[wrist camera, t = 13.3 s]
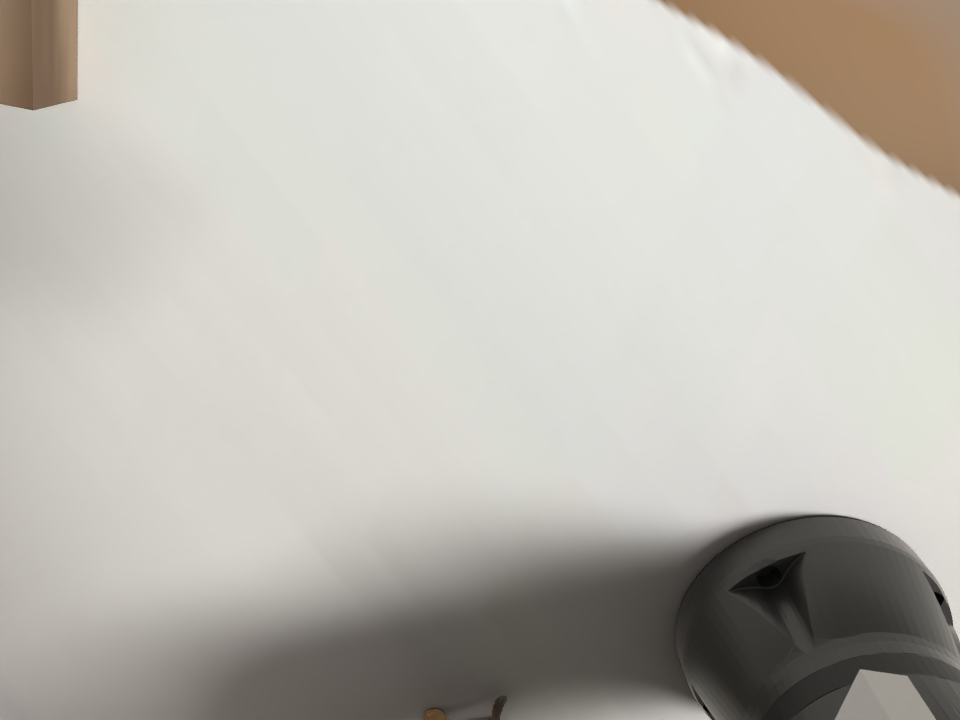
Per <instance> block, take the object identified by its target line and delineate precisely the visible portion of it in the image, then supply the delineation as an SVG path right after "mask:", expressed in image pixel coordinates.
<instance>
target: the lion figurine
mask: <svg viewBox="0 0 960 720" xmlns="http://www.w3.org/2000/svg"><path fill="white" fill-rule="evenodd" d="M506 698H507V697H506V696H505V695H502V696H500V697H498V698H497V699H496V700H495V703H494V706H493V710H492V718H491V720H500V715H501V712H502V709H503V706H504V704H505V702H506ZM424 719H425V720H450V719H449V718H448V717H447V716H446V715H445V714H444V713H443V712H442V711H441V710H438V709H430V710H427V711H426V713H425V715H424Z"/></svg>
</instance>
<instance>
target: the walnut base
mask: <svg viewBox="0 0 960 720" xmlns="http://www.w3.org/2000/svg"><path fill="white" fill-rule="evenodd" d="M77 7H78V0H0V104H4V105H9V106H14V107H19V108H24V109H29V110H36V109H41V108H45V107H49V106H53V105H57V104H61V103H65V102H70V101H74V100H77Z"/></svg>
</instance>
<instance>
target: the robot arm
mask: <svg viewBox="0 0 960 720" xmlns="http://www.w3.org/2000/svg"><path fill="white" fill-rule="evenodd" d="M675 637H676V647H677V652H678V656H679V659H680V662H681V665H682V668H683V671H684V674H685V677H686V680H687V683H688V686H689V688H690V690H691V692H692V694H693V696H694V698H695V699H696V701H697V702H698V704H699V705H700V707H701V708H702V709H703V710H704V712H705V713H706V714H707V715H708V716H709V717H710V718H711V719H712V720H960V642H959V639H958V636H957V634H956V631H955V629H954V628H953V620H952V615H951V611H950V608H949V604H948V601H947V598H946V596H945V594H944V592H943V590H942V588H941V586H940V584H939V583H938V581H937V580H936V578H935V577H934V575H933V574H932V573H931V572H930V570H929V569H928V568H927V567H926V566H925V564H924V563H923V562H922V561H921V559H920V558H919V557H918V556H917V555H916V553H915V552H914V551H913V550H912V549H911V548H910V547H909V546H908V545H907V544H906V543H905V542H904V541H902V540H901V539H900V538H898V537H897V536H895V535H894V534H892V533H890V532H889V531H887V530H885V529H883V528H880V527H878V526H876V525H873V524H870V523H867V522H863V521H859V520H855V519H849V518H841V517H811V518H803V519H797V520H791V521H787V522H783V523H779V524H776V525H773V526H770V527H767V528H765V529H762V530H759V531H757V532H755V533H753V534H751V535H749V536H747V537H745V538H743V539H741V540H740V541H738V542H736V543H735V544H733V545H731V546H730V547H729V548H727V549H726V550H724V551H723V552H722V553H721V554H719V555H718V556H717V557H716V558H715V559H713V560H712V561H711V562H710V563H709V564H708V565H707V566H706V567H705V568H704V569H703V571H702V572H701V573H700V574H699V575H698V577H697V578H696V579H695V581H694V582H693V583H692V585H691V587H690V588H689V590H688V592H687V593H686V595H685V597H684V600H683V602H682V604H681V607H680V610H679V613H678V618H677V623H676V635H675Z"/></svg>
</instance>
